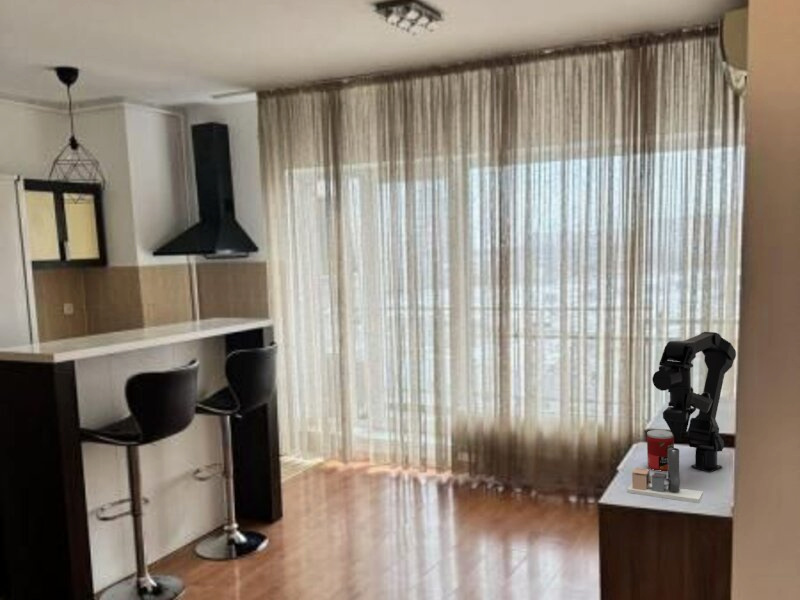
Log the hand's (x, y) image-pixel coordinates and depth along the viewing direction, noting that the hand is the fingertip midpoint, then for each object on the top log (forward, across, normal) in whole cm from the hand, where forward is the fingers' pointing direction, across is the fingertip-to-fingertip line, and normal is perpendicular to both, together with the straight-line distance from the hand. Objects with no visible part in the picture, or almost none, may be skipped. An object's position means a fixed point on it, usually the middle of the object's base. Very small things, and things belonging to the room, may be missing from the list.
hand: (681, 437), depth 206 cm
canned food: (+13, +9, +8) cm, 18 cm away
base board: (+13, -13, +2) cm, 18 cm away
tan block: (+12, -13, +9) cm, 20 cm away
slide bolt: (+11, -13, +4) cm, 18 cm away
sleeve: (+12, -13, +4) cm, 18 cm away
